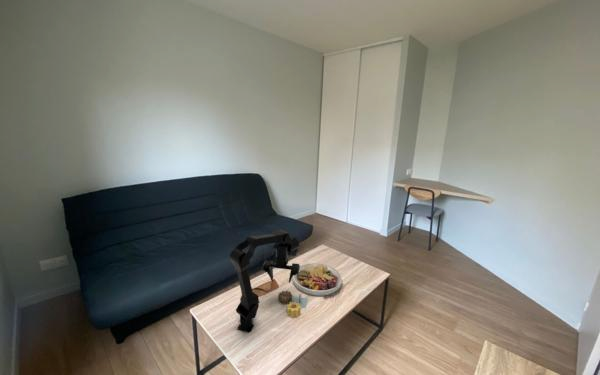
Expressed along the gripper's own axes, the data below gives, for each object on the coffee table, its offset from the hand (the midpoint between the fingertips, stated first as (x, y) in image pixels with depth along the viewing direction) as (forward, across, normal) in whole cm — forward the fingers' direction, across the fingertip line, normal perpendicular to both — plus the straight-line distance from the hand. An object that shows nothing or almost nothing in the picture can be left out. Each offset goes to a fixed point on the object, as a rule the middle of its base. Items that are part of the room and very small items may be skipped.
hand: (281, 281), depth 126 cm
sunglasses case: (+14, +10, -8) cm, 19 cm away
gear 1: (+12, -2, -2) cm, 12 cm away
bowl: (+13, -18, -22) cm, 31 cm away
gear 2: (+13, -8, +7) cm, 17 cm away
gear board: (+13, -6, -1) cm, 14 cm away
